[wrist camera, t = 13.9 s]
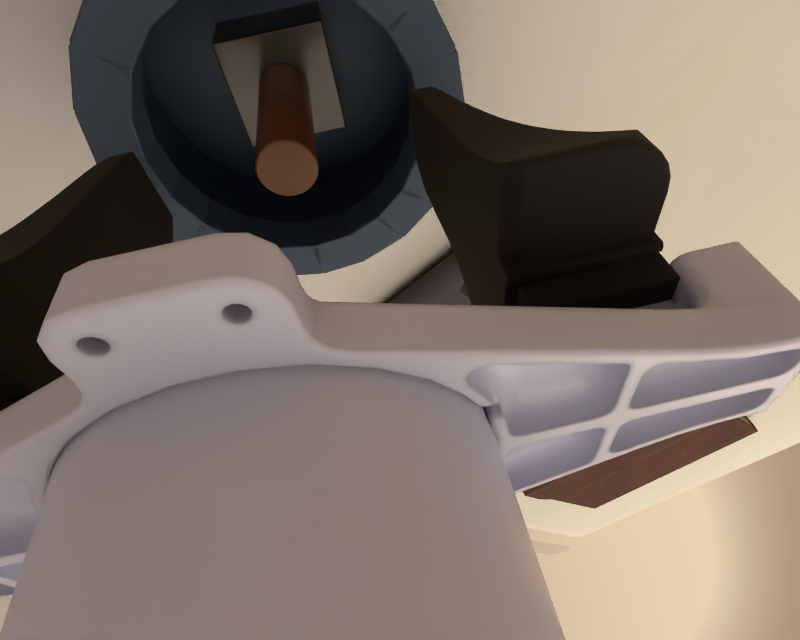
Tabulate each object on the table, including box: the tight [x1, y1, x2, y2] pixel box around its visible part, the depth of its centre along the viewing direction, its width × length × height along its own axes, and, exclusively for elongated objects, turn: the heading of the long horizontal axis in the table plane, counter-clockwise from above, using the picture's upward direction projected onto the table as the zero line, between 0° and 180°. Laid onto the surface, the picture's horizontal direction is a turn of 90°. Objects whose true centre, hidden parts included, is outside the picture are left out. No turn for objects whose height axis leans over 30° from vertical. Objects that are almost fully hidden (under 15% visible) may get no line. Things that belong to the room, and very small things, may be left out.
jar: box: [69, 0, 465, 275], centre depth 15 cm, size 10×10×6 cm
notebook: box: [523, 416, 757, 508], centre depth 50 cm, size 15×20×2 cm
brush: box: [212, 2, 346, 196], centre depth 15 cm, size 3×3×7 cm
